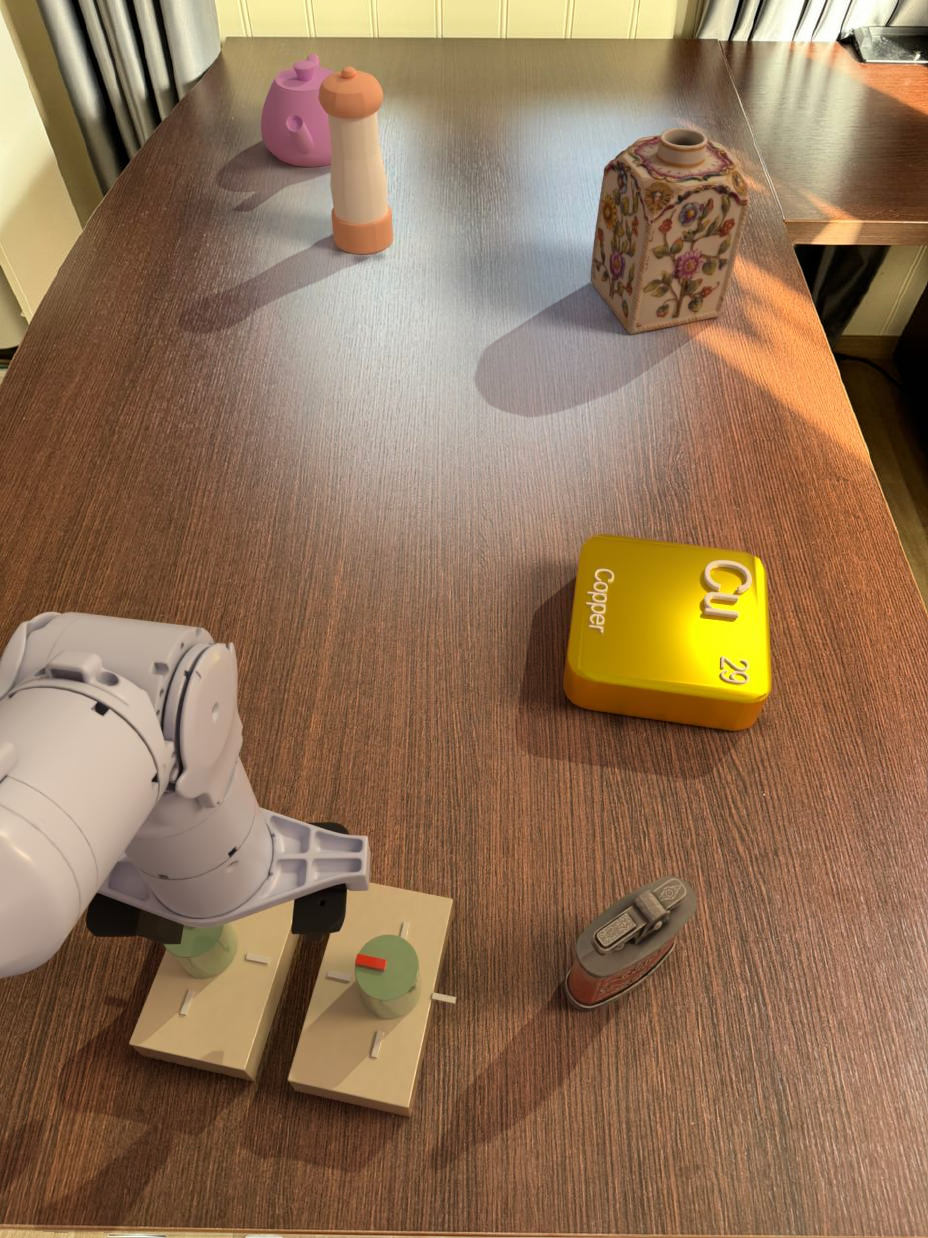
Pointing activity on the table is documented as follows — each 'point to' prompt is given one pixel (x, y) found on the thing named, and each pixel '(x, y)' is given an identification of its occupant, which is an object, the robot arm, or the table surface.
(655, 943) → the lighter
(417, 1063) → the dial knob base
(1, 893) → the robot arm
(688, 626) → the element tile
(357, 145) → the pepper shaker
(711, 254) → the decorative jar
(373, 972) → the knob
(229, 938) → the green dial knob
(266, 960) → the tan base plate
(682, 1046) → the table surface
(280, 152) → the teapot
